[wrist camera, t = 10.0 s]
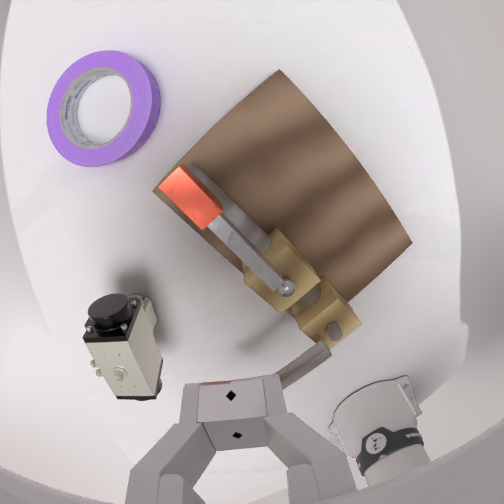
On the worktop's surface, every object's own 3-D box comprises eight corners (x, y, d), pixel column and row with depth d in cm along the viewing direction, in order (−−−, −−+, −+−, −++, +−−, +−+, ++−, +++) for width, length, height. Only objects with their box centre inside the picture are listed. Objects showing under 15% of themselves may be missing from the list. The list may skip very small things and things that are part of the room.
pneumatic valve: (146, 266, 32) (116, 330, 21) (171, 343, 37) (159, 415, 26) (105, 271, 32) (64, 333, 21) (133, 346, 37) (113, 414, 26)
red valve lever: (184, 162, 21) (178, 166, 19) (297, 281, 26) (305, 297, 24) (166, 180, 22) (158, 186, 19) (280, 295, 27) (286, 312, 24)
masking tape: (108, 184, 28) (95, 191, 25) (47, 119, 24) (28, 120, 21) (184, 103, 26) (178, 99, 22) (114, 39, 22) (101, 29, 18)
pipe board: (404, 237, 34) (452, 272, 25) (252, 364, 40) (260, 421, 30) (275, 73, 25) (301, 46, 16) (104, 251, 31) (67, 296, 22)
